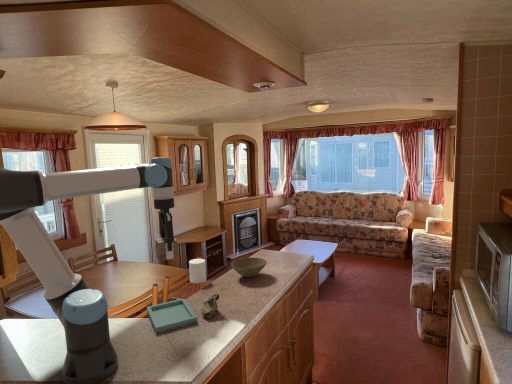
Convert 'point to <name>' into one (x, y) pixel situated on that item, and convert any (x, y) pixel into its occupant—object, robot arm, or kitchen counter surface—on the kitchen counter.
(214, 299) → the rock
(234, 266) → the bowl
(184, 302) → the tray
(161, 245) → the walnut cube
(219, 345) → the kitchen counter surface
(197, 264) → the mug
